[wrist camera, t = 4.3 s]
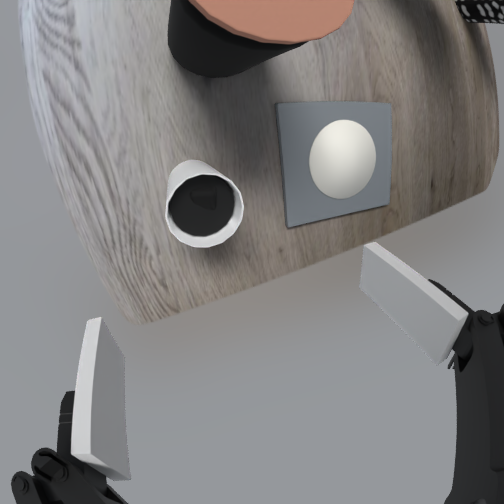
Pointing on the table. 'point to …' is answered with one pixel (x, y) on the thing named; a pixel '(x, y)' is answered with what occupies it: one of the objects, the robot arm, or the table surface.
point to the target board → (333, 158)
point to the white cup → (202, 204)
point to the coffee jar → (246, 31)
